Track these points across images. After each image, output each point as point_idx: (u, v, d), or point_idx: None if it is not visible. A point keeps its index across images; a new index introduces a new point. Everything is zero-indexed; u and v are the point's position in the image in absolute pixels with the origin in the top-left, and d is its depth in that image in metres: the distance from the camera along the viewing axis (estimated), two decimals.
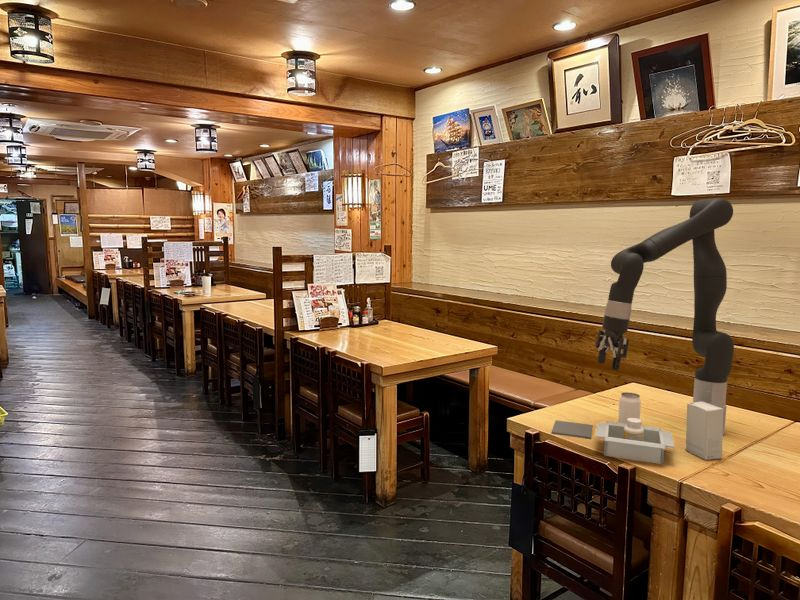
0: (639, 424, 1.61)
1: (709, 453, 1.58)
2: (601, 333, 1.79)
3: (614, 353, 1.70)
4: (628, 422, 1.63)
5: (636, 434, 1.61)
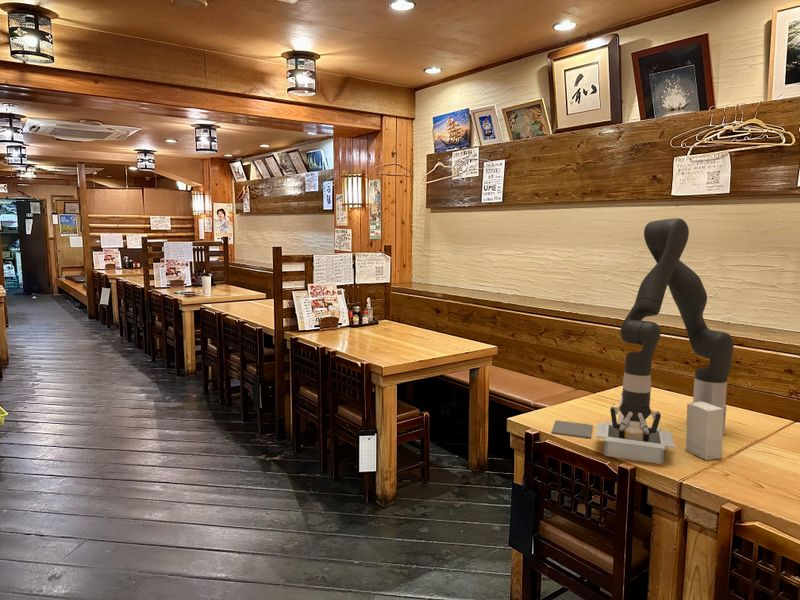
0: (639, 424, 1.61)
1: (709, 453, 1.58)
2: (614, 411, 1.64)
3: (646, 430, 1.61)
4: (628, 422, 1.63)
5: (636, 434, 1.61)
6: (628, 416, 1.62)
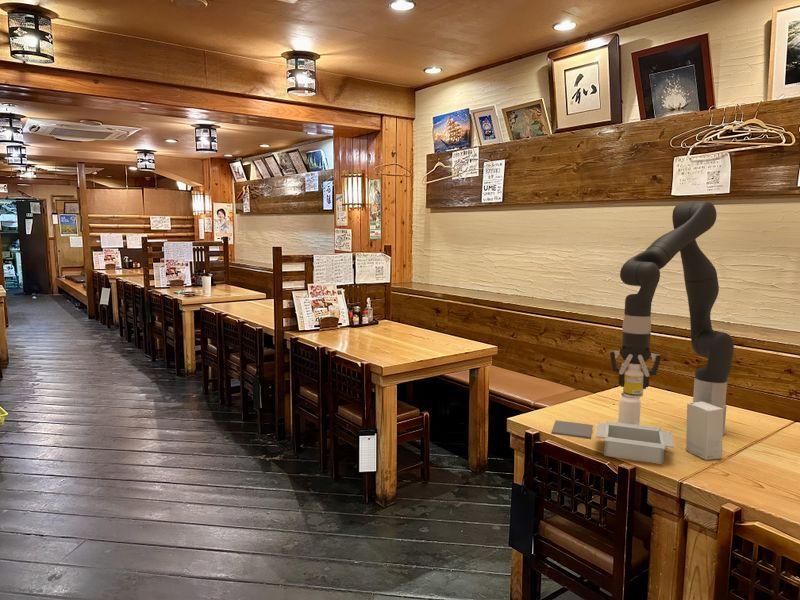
0: (639, 366, 1.60)
1: (709, 453, 1.58)
2: (614, 354, 1.63)
3: (646, 372, 1.60)
4: (628, 365, 1.61)
5: (636, 376, 1.60)
6: (628, 359, 1.61)
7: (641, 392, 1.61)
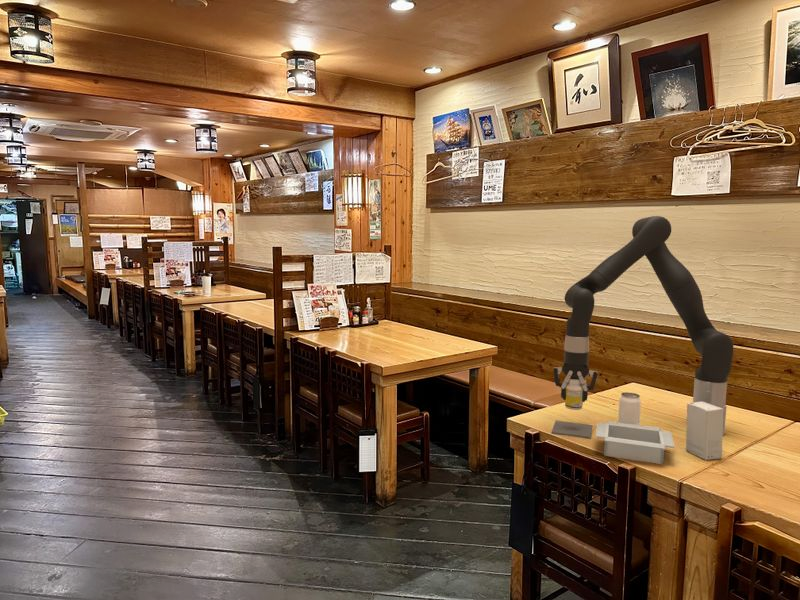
0: (578, 382, 1.78)
1: (709, 453, 1.58)
2: (557, 370, 1.81)
3: (585, 387, 1.78)
4: (569, 380, 1.79)
5: (575, 391, 1.78)
6: (569, 375, 1.79)
7: (580, 405, 1.79)
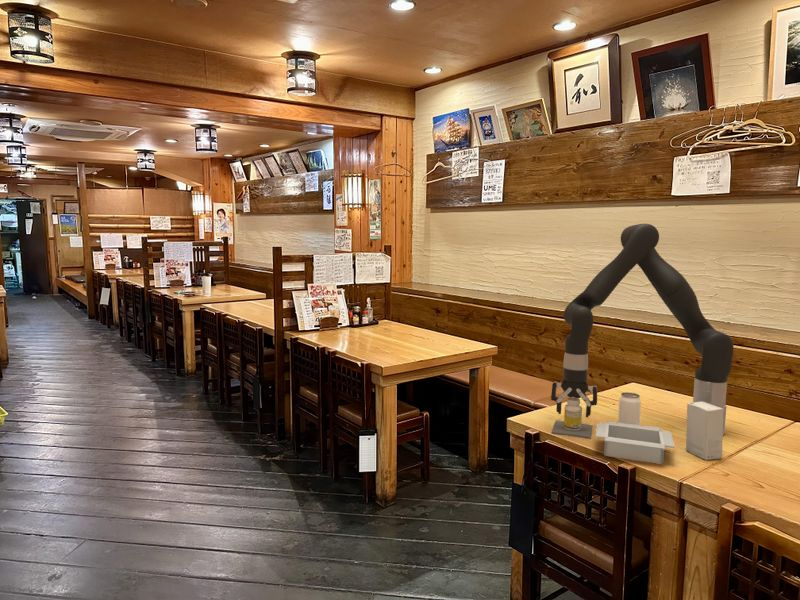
0: (577, 403, 1.79)
1: (709, 453, 1.58)
2: (556, 385, 1.81)
3: (588, 402, 1.78)
4: (568, 401, 1.80)
5: (574, 412, 1.78)
6: (567, 391, 1.79)
7: (579, 425, 1.79)
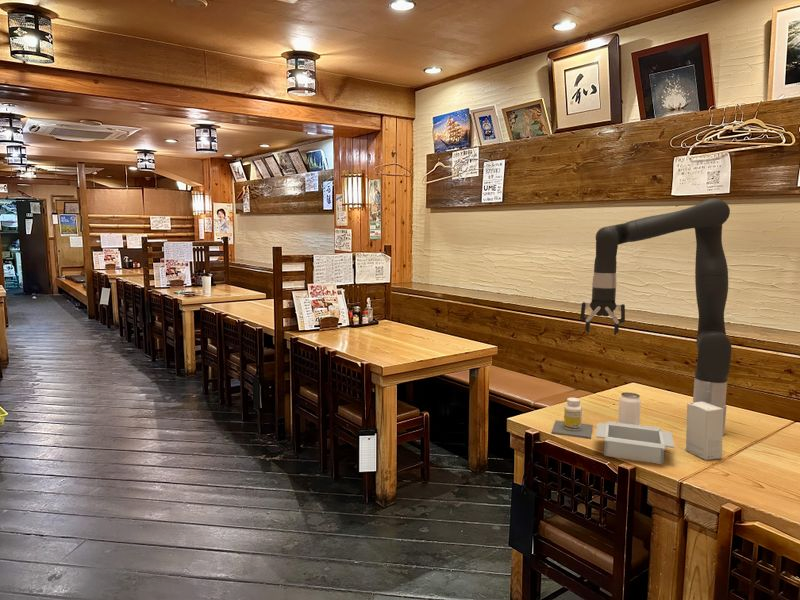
0: (577, 403, 1.79)
1: (709, 453, 1.58)
2: (585, 305, 1.90)
3: (616, 320, 1.86)
4: (568, 401, 1.80)
5: (574, 412, 1.78)
6: (596, 310, 1.88)
7: (579, 425, 1.79)
